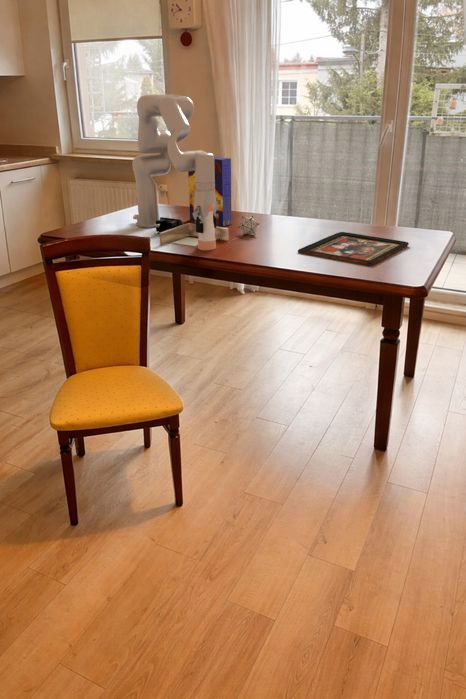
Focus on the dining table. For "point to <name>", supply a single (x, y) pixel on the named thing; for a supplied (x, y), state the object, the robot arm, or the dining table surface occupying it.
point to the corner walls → (189, 233)
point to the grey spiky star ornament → (248, 225)
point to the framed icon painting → (354, 248)
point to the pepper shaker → (207, 231)
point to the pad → (188, 241)
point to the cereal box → (216, 190)
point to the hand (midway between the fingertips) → (206, 230)
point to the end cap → (167, 224)
